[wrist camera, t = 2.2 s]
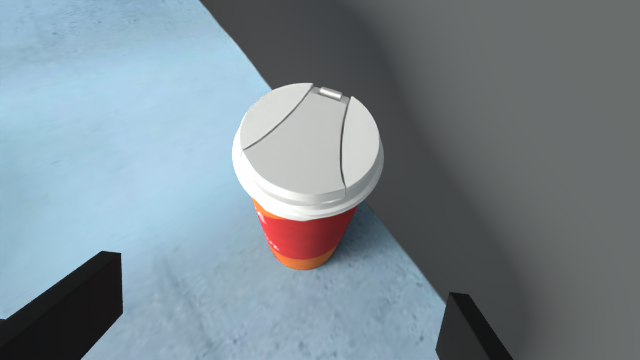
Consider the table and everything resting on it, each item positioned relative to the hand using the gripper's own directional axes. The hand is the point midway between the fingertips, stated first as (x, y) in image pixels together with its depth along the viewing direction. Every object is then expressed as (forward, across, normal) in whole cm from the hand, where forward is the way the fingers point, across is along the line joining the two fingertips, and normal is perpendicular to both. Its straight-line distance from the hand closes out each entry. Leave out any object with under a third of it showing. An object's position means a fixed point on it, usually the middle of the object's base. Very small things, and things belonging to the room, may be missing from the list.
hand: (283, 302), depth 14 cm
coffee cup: (+16, 0, +5) cm, 17 cm away
